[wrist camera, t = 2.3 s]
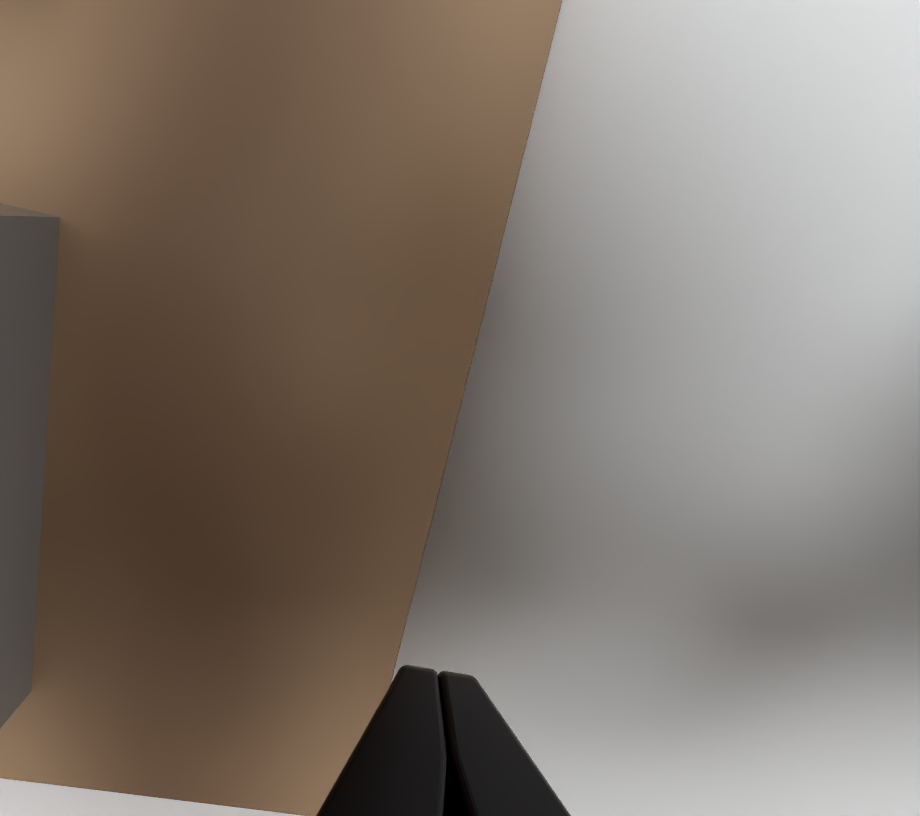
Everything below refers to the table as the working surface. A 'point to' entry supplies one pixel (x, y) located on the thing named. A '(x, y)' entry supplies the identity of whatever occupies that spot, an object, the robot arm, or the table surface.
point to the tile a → (23, 432)
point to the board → (248, 363)
